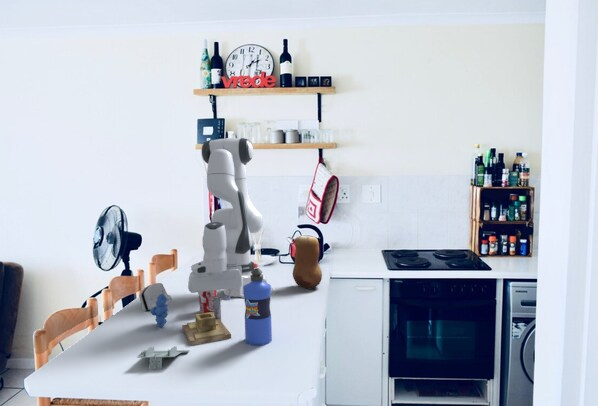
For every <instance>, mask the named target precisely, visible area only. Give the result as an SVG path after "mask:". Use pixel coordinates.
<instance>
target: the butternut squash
mask: <svg viewBox="0 0 598 406" xmlns="http://www.w3.org/2000/svg"><path fill="white" fill-rule="evenodd" d="M294 249H295V250H294V266H293V269H292V279H294V282H295V284H296V285H297V286H298V287H301V288H303V289H305V290H312V289H314V288H317V287H318V286H319V285H320V283H321V282H322V279H323V273H322V269H321V266H320V264H319V257H320V243H319V240H318V238H317V237H316V236H312V235H307V234H306V235H300V236H297V237H296V239H295V241H294Z"/></svg>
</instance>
